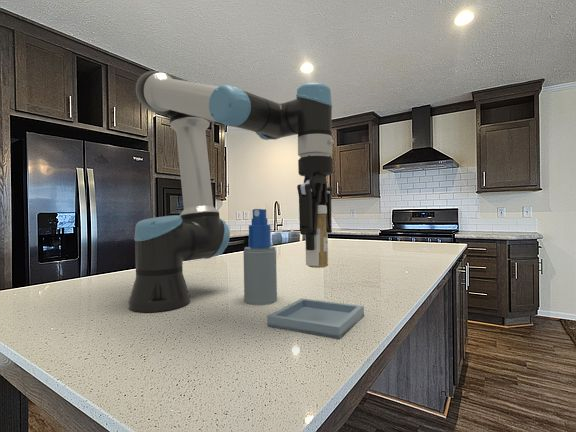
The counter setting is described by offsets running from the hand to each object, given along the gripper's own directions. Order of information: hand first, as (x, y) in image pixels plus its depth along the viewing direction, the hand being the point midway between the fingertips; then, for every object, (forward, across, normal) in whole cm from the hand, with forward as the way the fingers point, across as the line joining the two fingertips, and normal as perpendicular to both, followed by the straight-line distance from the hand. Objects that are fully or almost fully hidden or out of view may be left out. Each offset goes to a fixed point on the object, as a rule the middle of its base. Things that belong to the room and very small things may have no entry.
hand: (317, 263), depth 74 cm
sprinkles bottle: (+1, 0, 0) cm, 1 cm away
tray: (+13, 0, 0) cm, 13 cm away
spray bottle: (+13, +9, +21) cm, 26 cm away
